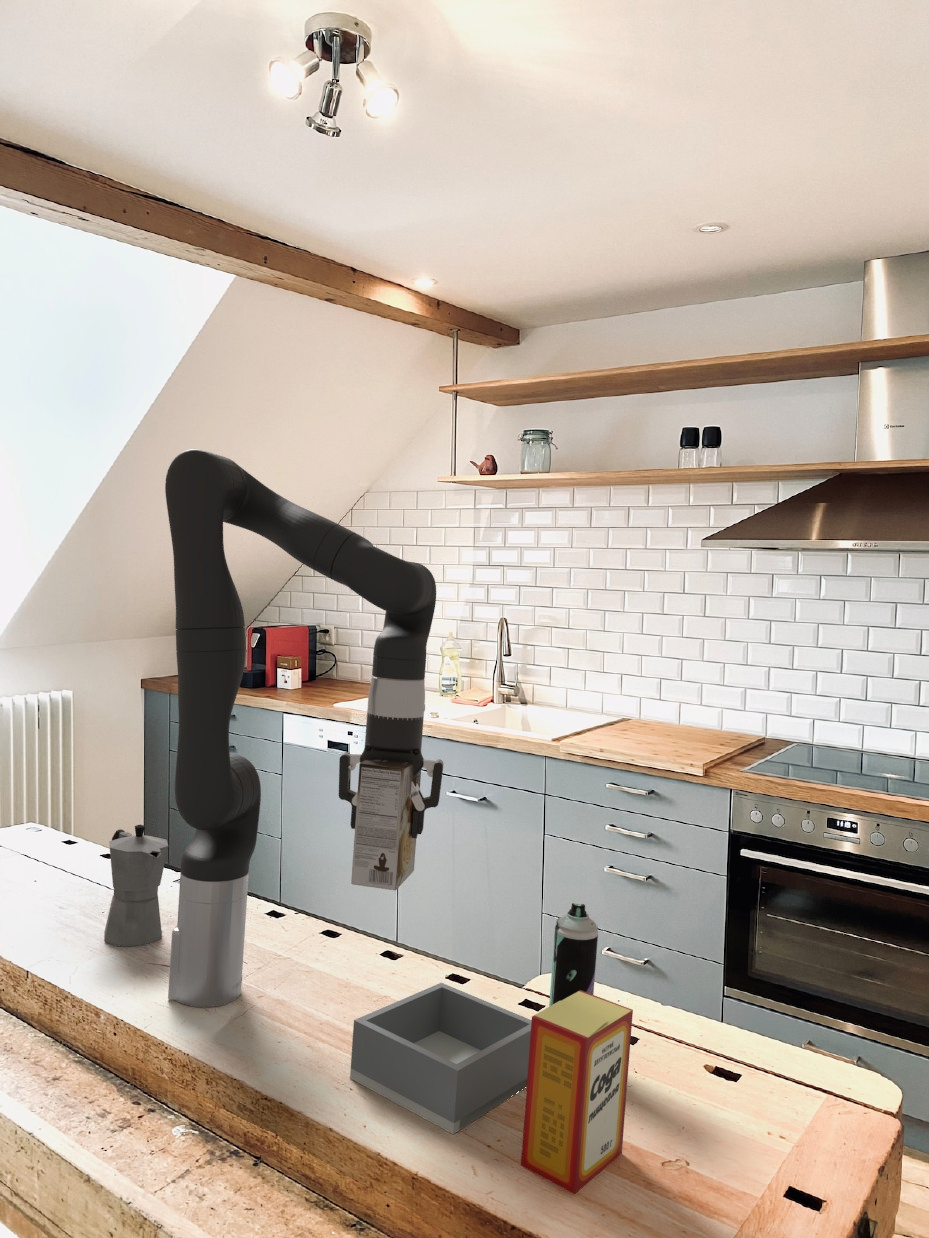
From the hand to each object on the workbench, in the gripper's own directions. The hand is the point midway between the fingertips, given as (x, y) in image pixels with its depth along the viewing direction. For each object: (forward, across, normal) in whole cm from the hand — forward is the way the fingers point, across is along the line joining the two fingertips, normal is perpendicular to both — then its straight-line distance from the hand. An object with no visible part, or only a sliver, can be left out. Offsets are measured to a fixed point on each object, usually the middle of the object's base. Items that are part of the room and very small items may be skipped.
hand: (386, 834), depth 126 cm
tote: (+26, +10, -13) cm, 30 cm away
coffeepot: (+26, -42, +24) cm, 55 cm away
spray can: (+26, +26, -5) cm, 37 cm away
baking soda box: (+26, +24, -27) cm, 44 cm away
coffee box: (+6, 0, 0) cm, 6 cm away
